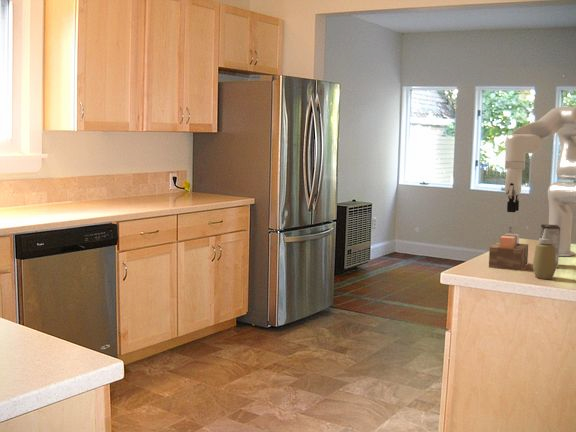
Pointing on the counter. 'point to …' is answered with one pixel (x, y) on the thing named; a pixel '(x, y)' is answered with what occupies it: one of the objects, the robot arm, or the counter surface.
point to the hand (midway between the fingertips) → (512, 210)
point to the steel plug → (514, 236)
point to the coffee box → (553, 238)
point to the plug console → (508, 257)
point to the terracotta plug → (507, 242)
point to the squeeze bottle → (544, 258)
